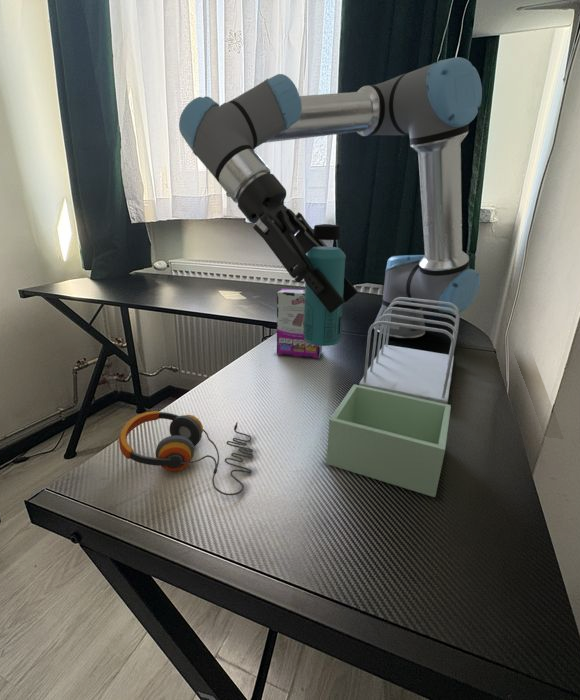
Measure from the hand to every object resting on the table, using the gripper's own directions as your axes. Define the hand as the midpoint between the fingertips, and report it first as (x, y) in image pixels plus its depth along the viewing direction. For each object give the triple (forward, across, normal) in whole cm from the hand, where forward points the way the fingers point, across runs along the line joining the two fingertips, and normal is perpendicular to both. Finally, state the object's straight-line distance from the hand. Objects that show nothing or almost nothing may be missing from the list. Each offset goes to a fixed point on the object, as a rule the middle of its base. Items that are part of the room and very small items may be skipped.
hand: (344, 302), depth 60 cm
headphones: (+4, +20, -27) cm, 34 cm away
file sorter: (+22, -26, -9) cm, 35 cm away
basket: (+23, +6, -8) cm, 25 cm away
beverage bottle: (+4, 0, -9) cm, 9 cm away
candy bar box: (+2, -26, -29) cm, 39 cm away
